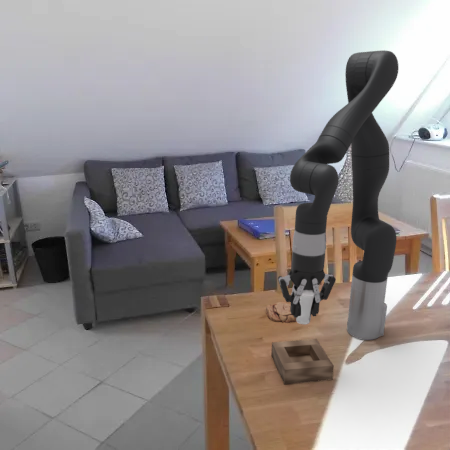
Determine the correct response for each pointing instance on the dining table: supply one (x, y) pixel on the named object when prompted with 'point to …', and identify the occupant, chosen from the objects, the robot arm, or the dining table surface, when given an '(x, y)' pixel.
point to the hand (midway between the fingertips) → (304, 315)
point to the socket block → (301, 361)
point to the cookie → (280, 312)
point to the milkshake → (305, 307)
